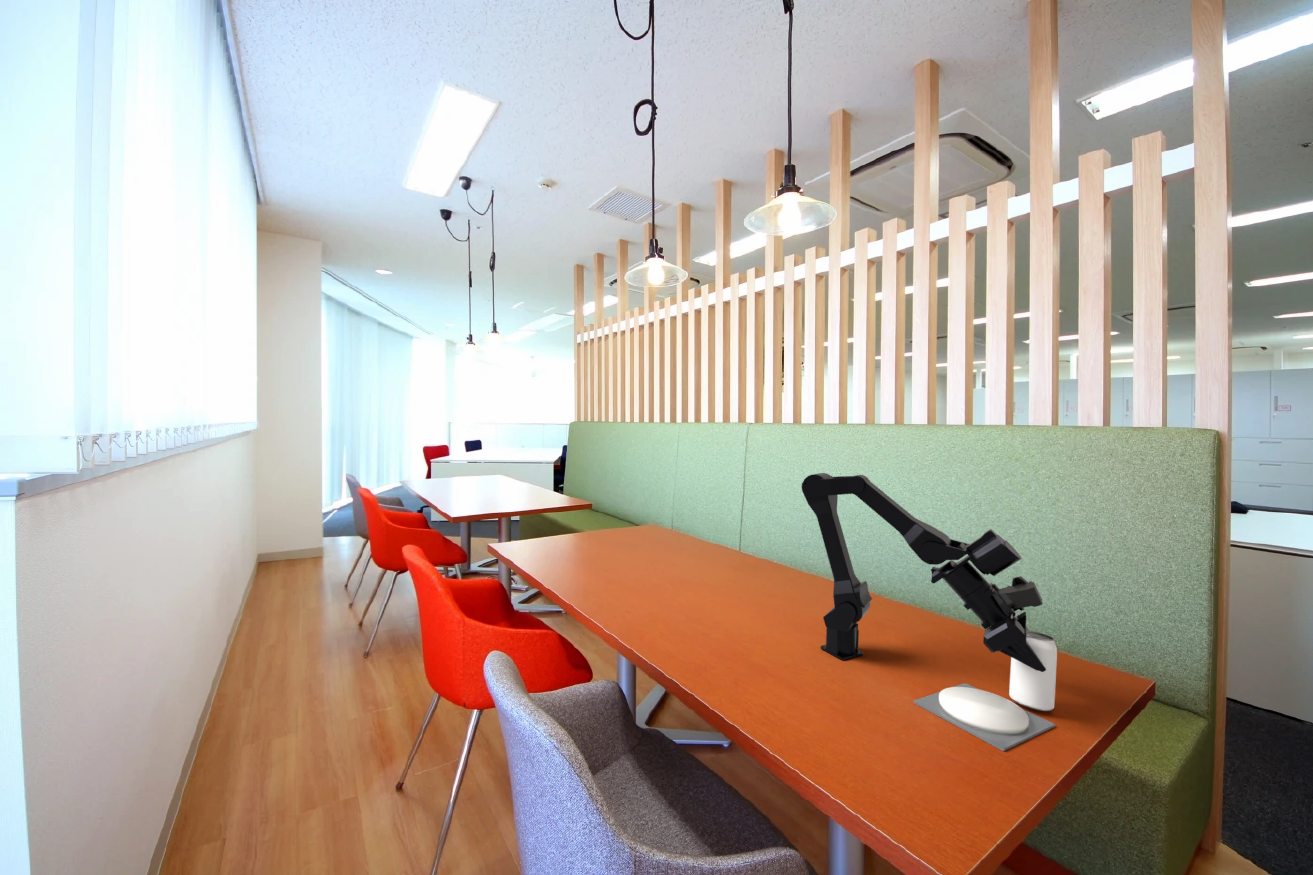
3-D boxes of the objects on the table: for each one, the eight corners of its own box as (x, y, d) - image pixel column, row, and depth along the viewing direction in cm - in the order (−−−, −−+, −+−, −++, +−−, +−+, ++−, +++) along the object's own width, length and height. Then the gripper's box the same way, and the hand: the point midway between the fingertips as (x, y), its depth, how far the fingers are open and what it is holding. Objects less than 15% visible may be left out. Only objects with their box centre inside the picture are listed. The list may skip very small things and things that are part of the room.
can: (1000, 693, 93) (1004, 627, 94) (1033, 696, 94) (1036, 630, 95) (1028, 710, 87) (1032, 639, 88) (1063, 713, 87) (1067, 642, 88)
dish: (1003, 751, 77) (1003, 742, 77) (913, 702, 91) (913, 695, 91) (1055, 726, 84) (1055, 718, 84) (964, 684, 97) (964, 677, 97)
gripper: (1010, 576, 85) (1092, 661, 79) (1012, 555, 100) (1081, 625, 94) (954, 611, 90) (1027, 694, 84) (964, 586, 105) (1027, 654, 99)
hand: (1043, 664), depth 90 cm, fingers closed on can, 6 cm apart
